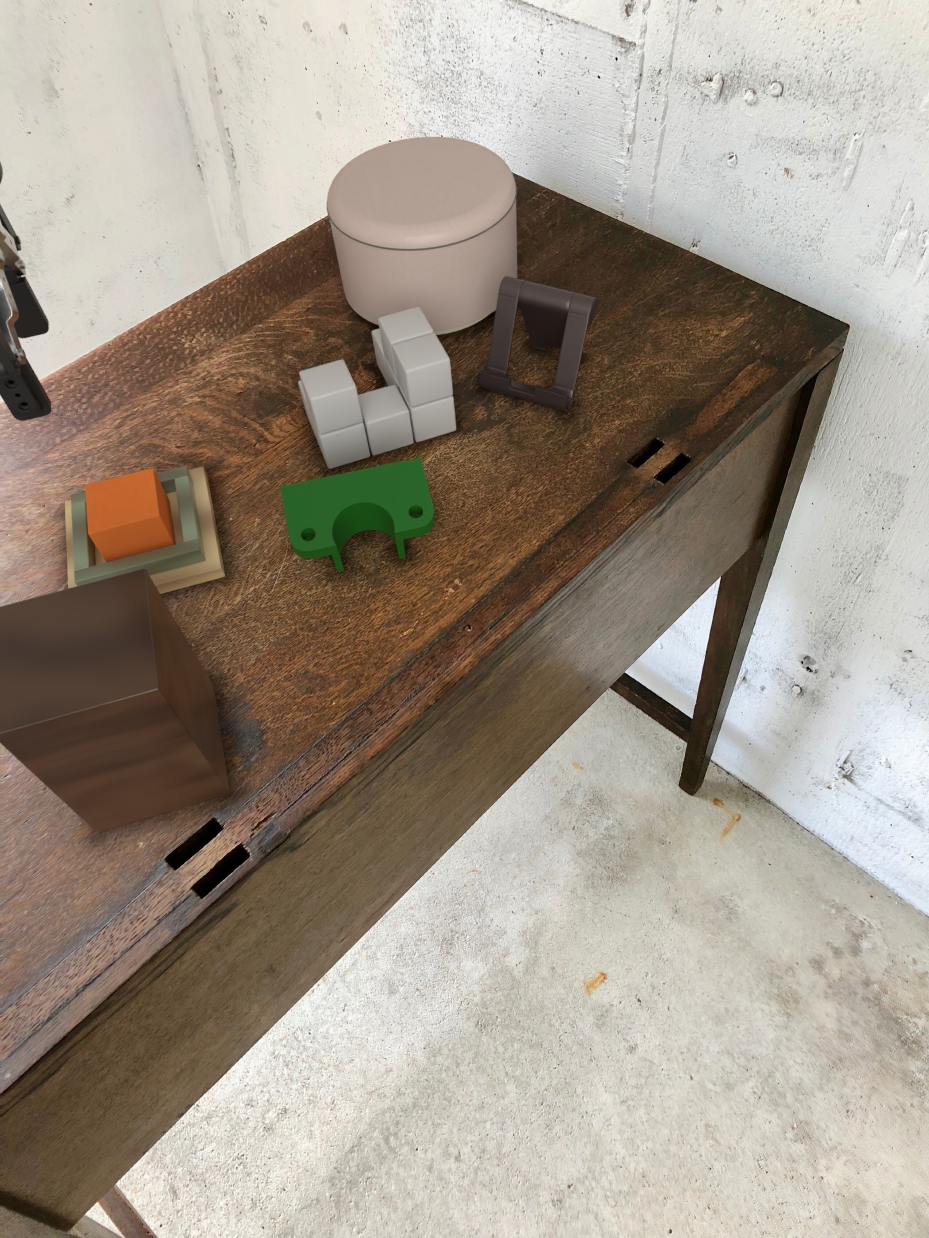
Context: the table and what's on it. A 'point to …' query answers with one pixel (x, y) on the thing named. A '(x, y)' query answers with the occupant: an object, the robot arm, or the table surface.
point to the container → (425, 230)
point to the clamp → (358, 508)
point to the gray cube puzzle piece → (383, 394)
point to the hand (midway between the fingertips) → (35, 372)
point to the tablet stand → (539, 338)
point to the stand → (109, 702)
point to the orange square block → (129, 515)
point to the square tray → (166, 566)
